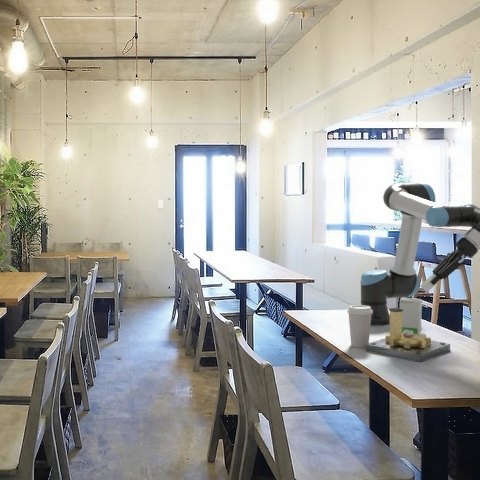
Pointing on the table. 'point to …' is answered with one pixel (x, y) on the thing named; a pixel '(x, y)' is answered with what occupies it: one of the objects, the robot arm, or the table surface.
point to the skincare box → (411, 314)
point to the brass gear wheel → (397, 335)
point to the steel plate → (407, 353)
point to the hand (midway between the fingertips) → (423, 289)
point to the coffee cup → (359, 325)
